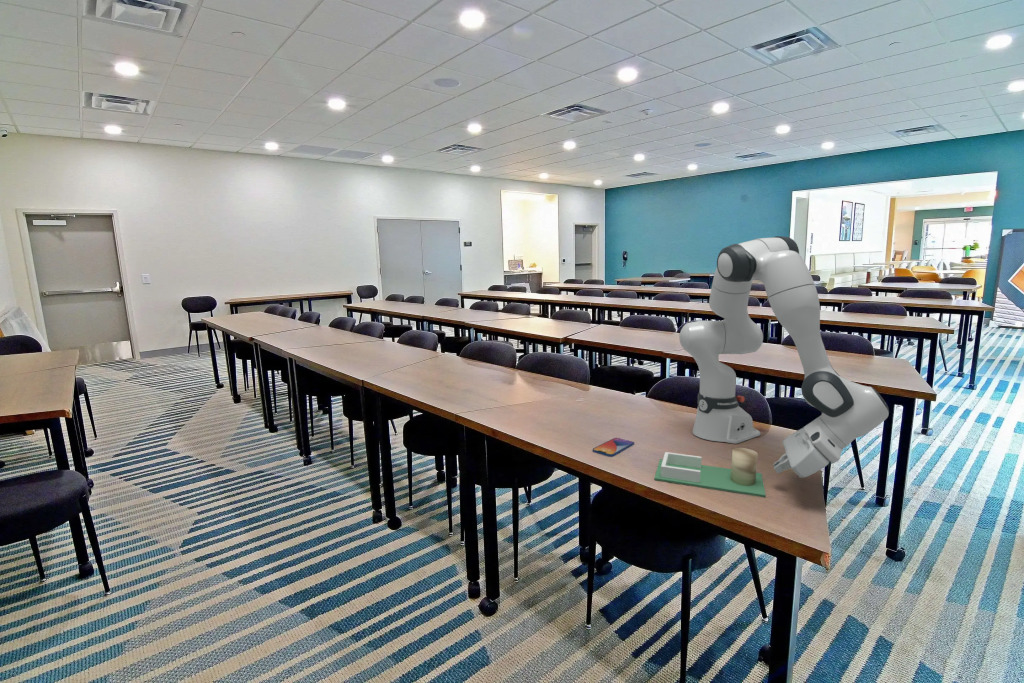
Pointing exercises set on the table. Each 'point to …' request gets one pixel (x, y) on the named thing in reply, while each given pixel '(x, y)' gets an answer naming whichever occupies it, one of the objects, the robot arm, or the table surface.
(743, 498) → the table surface
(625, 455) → the table surface
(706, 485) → the putting green
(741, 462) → the maple canister
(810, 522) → the table surface
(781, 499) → the table surface
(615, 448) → the smartphone
